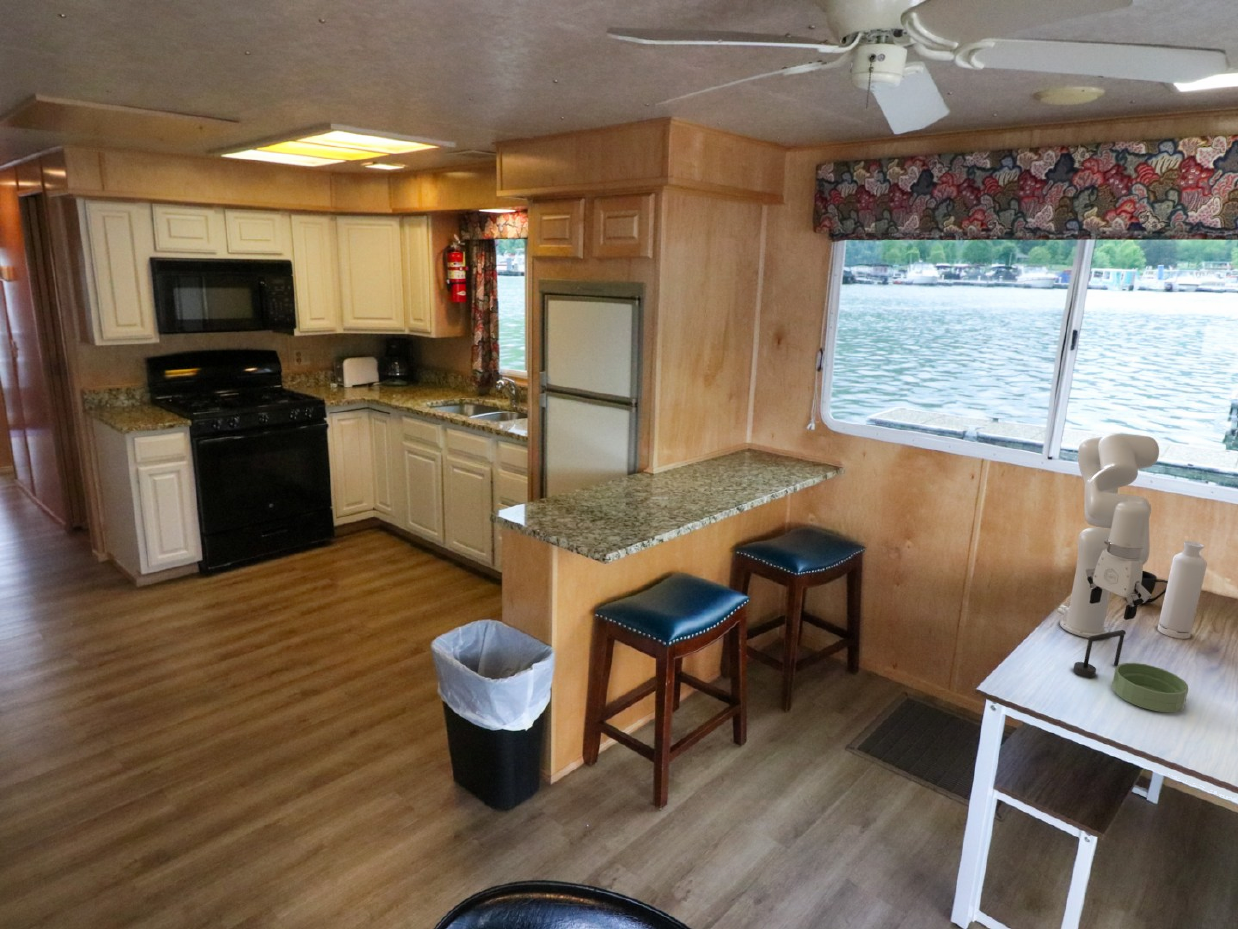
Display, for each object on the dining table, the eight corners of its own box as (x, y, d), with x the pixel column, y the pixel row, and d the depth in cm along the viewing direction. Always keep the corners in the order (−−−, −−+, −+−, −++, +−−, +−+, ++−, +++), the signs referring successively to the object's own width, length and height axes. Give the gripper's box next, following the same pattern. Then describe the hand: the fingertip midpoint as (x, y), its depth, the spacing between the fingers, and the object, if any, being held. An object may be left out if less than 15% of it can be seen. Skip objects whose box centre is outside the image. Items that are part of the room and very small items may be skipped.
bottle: (1160, 623, 238) (1180, 537, 231) (1192, 633, 233) (1213, 544, 226) (1154, 631, 233) (1174, 543, 226) (1186, 641, 227) (1208, 551, 220)
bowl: (1097, 687, 200) (1101, 668, 199) (1138, 677, 206) (1142, 659, 204) (1156, 719, 186) (1160, 698, 185) (1198, 708, 192) (1202, 688, 191)
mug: (1164, 612, 247) (1170, 584, 244) (1119, 601, 254) (1125, 574, 251) (1165, 603, 253) (1171, 576, 251) (1122, 593, 260) (1127, 567, 258)
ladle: (1108, 661, 214) (1116, 625, 211) (1126, 670, 209) (1134, 633, 207) (1068, 670, 208) (1075, 633, 206) (1085, 679, 204) (1093, 642, 201)
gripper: (1083, 540, 207) (1071, 599, 212) (1146, 564, 192) (1132, 627, 196) (1103, 536, 210) (1091, 595, 214) (1167, 560, 194) (1153, 623, 199)
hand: (1111, 610), depth 205 cm, fingers open, 9 cm apart
